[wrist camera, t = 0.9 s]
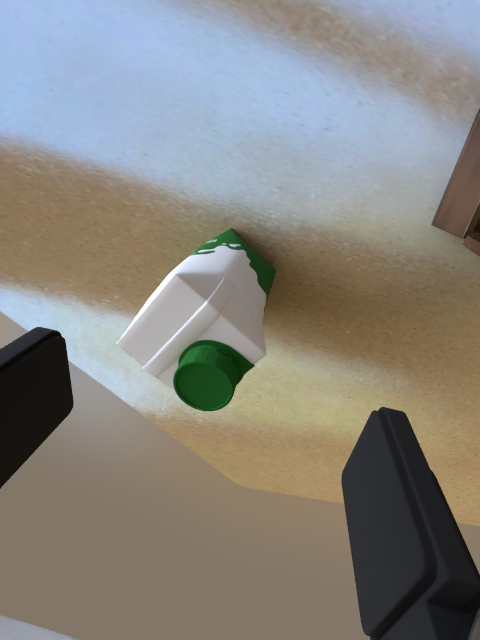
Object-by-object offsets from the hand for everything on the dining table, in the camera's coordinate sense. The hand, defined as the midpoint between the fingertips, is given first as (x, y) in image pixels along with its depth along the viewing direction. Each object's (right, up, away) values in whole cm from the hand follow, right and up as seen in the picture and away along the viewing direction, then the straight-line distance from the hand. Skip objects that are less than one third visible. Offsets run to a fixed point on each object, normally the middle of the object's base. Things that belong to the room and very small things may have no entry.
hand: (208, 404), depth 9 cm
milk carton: (0, +9, +28) cm, 29 cm away
